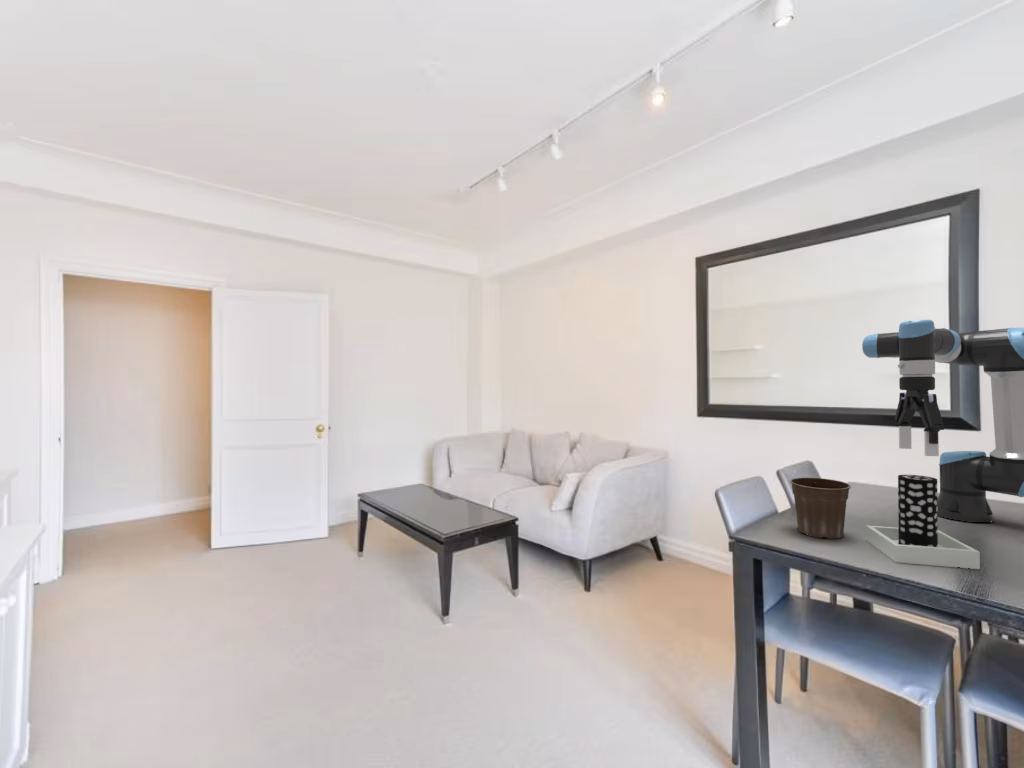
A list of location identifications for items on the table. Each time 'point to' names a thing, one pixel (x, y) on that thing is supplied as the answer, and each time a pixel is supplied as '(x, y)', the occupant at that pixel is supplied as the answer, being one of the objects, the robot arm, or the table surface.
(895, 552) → the tray
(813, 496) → the plant pot
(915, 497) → the spotted tube
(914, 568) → the table surface
